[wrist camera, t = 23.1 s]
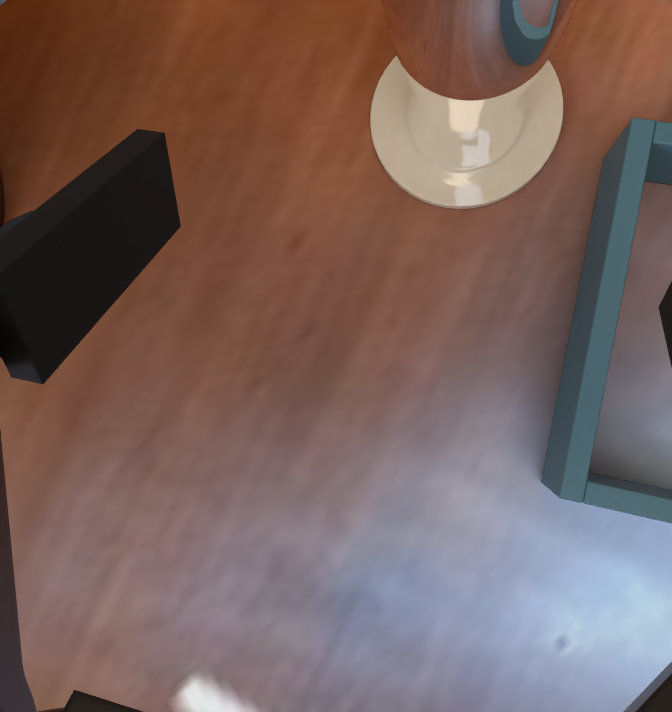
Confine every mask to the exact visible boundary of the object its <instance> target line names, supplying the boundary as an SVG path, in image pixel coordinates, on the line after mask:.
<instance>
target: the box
mask: <svg viewBox="0 0 672 712" xmlns="http://www.w3.org/2000/svg"><path fill="white" fill-rule="evenodd" d="M644 181H649V182H656V183H664V184H671V185H672V123H669V122H660V121H657V122H656V121H655V120H646V119H638V118H632V119H631V121H630V122H629V124H628V125H627V126H626V128H625V129H624V130H623V132H622V133H621V135H620V136H619V137H618V139H617V140H616V142H615V143H614V144H613V146H612V147H611V148H610V150H609V151H608V153H607V154H606V155H605V157H604V160H603V165H602V171H601V176H600V181H599V186H598V191H597V196H596V201H595V207H594V212H593V217H592V222H591V227H590V232H589V238H588V243H587V248H586V253H585V258H584V263H583V269H582V274H581V279H580V284H579V289H578V294H577V299H576V305H575V310H574V315H573V320H572V325H571V330H570V336H569V341H568V346H567V351H566V356H565V361H564V367H563V372H562V377H561V382H560V387H559V392H558V397H557V403H556V408H555V413H554V418H553V423H552V428H551V434H550V439H549V444H548V449H547V454H546V459H545V465H544V470H543V475H542V480H541V482H542V483H543V484H544V485H545V486H546V487H547V488H549V489H550V490H551V491H552V492H553V493H554V494H556V495H557V496H558V497H559V498H562V499H566V500H571V501H575V502H579V503H582V502H583V503H584V504H589V505H593V506H597V507H602V508H606V509H611V510H615V511H620V512H624V513H628V514H633V515H637V516H642V517H646V518H650V519H655V520H659V521H664V522H668V523H672V491H671V490H666V489H661V488H657V487H652V486H648V485H643V484H638V483H634V482H629V481H625V480H620V479H615V478H611V477H606V476H602V475H597V474H592V473H588V472H589V467H590V462H591V456H592V451H593V446H594V441H595V435H596V430H597V425H598V420H599V415H600V409H601V404H602V399H603V394H604V389H605V383H606V378H607V373H608V368H609V363H610V357H611V352H612V347H613V342H614V337H615V331H616V326H617V321H618V316H619V310H620V305H621V300H622V295H623V290H624V284H625V279H626V274H627V269H628V264H629V258H630V253H631V248H632V243H633V238H634V232H635V227H636V222H637V217H638V212H639V206H640V201H641V196H642V191H643V185H644Z"/></svg>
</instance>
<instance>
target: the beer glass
mask: <svg viewBox="0 0 672 712" xmlns="http://www.w3.org/2000/svg"><path fill="white" fill-rule="evenodd" d="M577 2H578V0H382V3H383V8H384V13H385V19H386V24H387V28H388V32H389V35H390V37H391V40H392V43H393V46H394V49H395V52H396V55H397V57H398V59H399V62H400V64H401V66H402V68H403V70H404V73H405V75H406V77H407V79H408V81H409V83H410V85H411V87H412V92H411V95H410V99H409V103H408V108H407V124H408V129H409V133H410V136H411V138H412V141H413V142H414V144H415V146H416V147H417V149H418V150H419V151H420V152H421V154H422V155H423V156H425V157H426V158H427V159H428V160H430V161H431V162H433V163H434V164H436V165H438V166H441V167H444V168H447V169H451V170H473V169H478V168H481V167H484V166H487V165H489V164H491V163H493V162H495V161H496V160H498V159H499V158H501V157H502V156H503V155H504V154H505V153H506V152H507V151H508V150H509V149H510V148H511V147H512V146H513V144H514V143H515V142H516V140H517V138H518V136H519V134H520V132H521V130H522V127H523V124H524V120H525V114H526V96H525V91H526V90H527V88H528V87H529V86H530V84H531V83H532V82H533V80H534V79H535V78H536V76H537V75H538V73H539V72H540V71H541V69H542V68H543V66H544V65H545V63H546V62H547V61H548V59H549V58H550V56H551V54H552V53H553V51H554V49H555V48H556V46H557V44H558V43H559V41H560V39H561V37H562V36H563V34H564V32H565V30H566V28H567V26H568V24H569V21H570V19H571V16H572V14H573V12H574V9H575V7H576V5H577Z"/></svg>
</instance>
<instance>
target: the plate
mask: <svg viewBox="0 0 672 712" xmlns="http://www.w3.org/2000/svg"><path fill="white" fill-rule="evenodd" d="M411 92H412V87H411V85H410V83H409V81H408V79H407V77H406V75H405V73H404V70H403V68H402V66H401V64H400V62H399V59H398V57H397V55H396V57H395V58H394V59H393V60H392V61H391V63H390V64H389V65H388V67H387V68H386V69H385V71H384V73H383V75H382V76H381V78H380V80H379V82H378V85H377V87H376V90H375V93H374V96H373V100H372V105H371V113H370V128H371V135H372V140H373V144H374V148H375V151H376V154H377V156H378V158H379V161H380V163H381V164H382V166H383V168H384V169H385V171H386V172H387V174H388V175H389V176H390V177H391V179H392V180H393V181H394V182H395V183H396V184H397V185H398V186H399V187H400V188H402V189H403V190H404V191H406V192H407V193H409V194H410V195H411V196H413V197H415V198H417V199H419V200H421V201H423V202H426V203H429V204H431V205H435V206H439V207H444V208H453V209H469V208H476V207H482V206H486V205H489V204H493V203H496V202H498V201H500V200H503V199H505V198H507V197H509V196H511V195H512V194H514V193H516V192H517V191H519V190H520V189H521V188H523V187H524V186H525V185H527V184H528V183H529V182H530V181H531V180H532V179H533V178H534V177H535V176H536V175H537V174H538V173H539V172H540V170H541V169H542V168H543V166H544V165H545V164H546V162H547V160H548V159H549V157H550V155H551V154H552V152H553V150H554V147H555V145H556V143H557V140H558V138H559V134H560V130H561V127H562V120H563V96H562V90H561V86H560V83H559V80H558V77H557V75H556V72H555V70H554V68H553V66H552V65H551V63H550V62H549V60H548V61H547V62H546V63H545V65H544V66H543V68H542V69H541V71H540V72H539V73H538V75H537V76H536V78H535V79H534V80H533V82H532V83H531V84H530V86H529V87H528V88H527V90H526V91H525V96H526V114H525V120H524V124H523V127H522V130H521V132H520V134H519V136H518V138H517V140H516V142H515V143H514V144H513V146H512V147H511V148H510V149H509V150H508V151H507V152H506V153H505V154H504V155H503V156H502V157H501V158H499V159H498V160H496V161H495V162H493V163H491V164H489V165H487V166H484V167H481V168H478V169H473V170H451V169H447V168H444V167H441V166H438V165H436V164H434V163H433V162H431V161H430V160H428V159H427V158H426V157H425V156H423V155H422V154H421V152H420V151H419V150H418V149H417V147H416V146H415V144H414V142H413V141H412V138H411V136H410V133H409V129H408V124H407V108H408V103H409V99H410V95H411Z"/></svg>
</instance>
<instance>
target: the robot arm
mask: <svg viewBox="0 0 672 712" xmlns="http://www.w3.org/2000/svg"><path fill="white" fill-rule="evenodd" d="M6 1H7V0H0V5H1V4H3V3H4V2H6ZM1 218H2V190H1V182H0V226H1ZM180 226H181V225H180V219H179V214H178V208H177V202H176V196H175V190H174V185H173V179H172V173H171V167H170V161H169V156H168V150H167V144H166V138H165V133H162V132H155V131H148V130H141V129H137V130H136V131H134V132H133V133H132V134H131V135H129V136H128V137H127V138H126V139H124V140H123V141H122V142H121V143H119V144H118V145H117V146H115V147H114V148H113V149H112V150H110V151H109V152H108V153H107V154H105V155H104V156H103V157H102V158H100V159H99V160H98V161H97V162H95V163H94V164H93V165H91V166H90V167H89V168H88V169H86V170H85V171H84V172H83V173H81V174H80V175H79V176H78V177H76V178H75V179H74V180H73V181H71V182H70V183H69V184H67V185H66V186H65V187H64V188H62V189H61V190H60V191H59V192H57V193H56V194H55V195H54V196H52V197H51V198H50V199H49V200H47V201H46V202H45V203H43V204H42V205H41V206H40V207H38V208H37V209H36V210H35V211H30V212H28V213H26V214H23V215H21V216H19V217H16V218H14V219H12V220H10V221H8V222H7V223H6V224H5V225H3V226H2V227H1V228H0V358H1V357H2V359H3V361H4V363H5V365H6V367H7V369H8V371H9V373H10V375H11V377H13V378H18V379H22V380H26V381H31V382H35V383H40V384H44V383H45V382H46V380H47V379H48V378H49V377H50V376H51V375H52V374H53V372H54V371H55V370H56V369H57V368H58V367H59V365H60V364H61V363H62V362H63V361H64V360H65V359H66V357H67V356H68V355H69V354H70V353H71V352H72V351H73V349H74V348H75V347H76V346H77V345H78V344H79V343H80V341H81V340H82V339H83V338H84V337H85V336H86V334H87V333H88V332H89V331H90V330H91V329H92V328H93V326H94V325H95V324H96V323H97V322H98V321H99V320H100V318H101V317H102V316H103V315H104V314H105V313H106V312H107V310H108V309H109V308H110V307H111V306H112V305H113V303H114V302H115V301H116V300H117V299H118V298H119V297H120V295H121V294H122V293H123V292H124V291H125V290H126V289H127V287H128V286H129V285H130V284H131V283H132V282H133V280H134V279H135V278H136V277H137V276H138V275H139V274H140V272H141V271H142V270H143V269H144V268H145V267H146V266H147V264H148V263H149V262H150V261H151V260H152V259H153V258H154V256H155V255H156V254H157V253H158V252H159V251H160V249H161V248H162V247H163V246H164V245H165V244H166V243H167V241H168V240H169V239H170V238H171V237H172V236H173V235H174V233H175V232H176V231H177V230H178V229H179V228H180ZM659 311H660V316H661V320H662V325H663V329H664V334H665V339H666V343H667V348H668V352H669V357H670V362H671V366H672V282H671V284H670V286H669V288H668V290H667V292H666V294H665V296H664V298H663V300H662V302H661V304H660V306H659ZM0 712H37V711H36V707H35V703H34V700H33V697H32V694H31V691H30V689H29V686H28V684H27V681H26V678H25V674H24V670H23V664H22V655H21V644H20V634H19V623H18V612H17V602H16V591H15V580H14V570H13V559H12V548H11V538H10V527H9V516H8V506H7V495H6V485H5V474H4V463H3V453H2V442H1V431H0ZM39 712H142V711H139V710H136V709H133V708H130V707H126V706H123V705H120V704H117V703H114V702H111V701H108V700H105V699H101V698H98V697H95V696H92V695H89V694H86V693H83V692H80V691H76V690H74V691H73V693H72V695H71V697H70V699H69V701H68V702H67V704H66V706H65V708H57V709H50V710H44V711H39ZM624 712H672V662H671V663H670V664H669V665H668V666H667V667H666V668H665V669H664V670H663V671H662V672H661V673H660V674H659V675H658V676H657V677H656V678H655V679H654V681H653V682H652V683H651V684H650V685H649V686H648V687H647V688H646V689H645V690H644V691H643V692H642V693H641V694H640V695H639V696H638V697H637V698H636V699H635V700H634V701H633V702H632V703H631V705H630V706H629V707H628V708H627V709H626V710H625V711H624Z"/></svg>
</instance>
